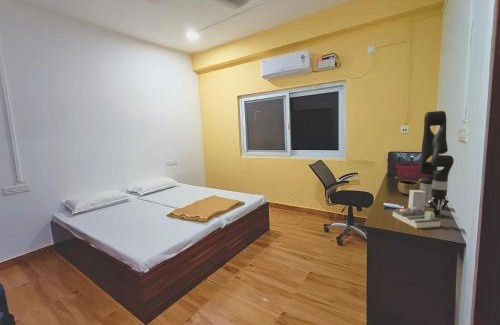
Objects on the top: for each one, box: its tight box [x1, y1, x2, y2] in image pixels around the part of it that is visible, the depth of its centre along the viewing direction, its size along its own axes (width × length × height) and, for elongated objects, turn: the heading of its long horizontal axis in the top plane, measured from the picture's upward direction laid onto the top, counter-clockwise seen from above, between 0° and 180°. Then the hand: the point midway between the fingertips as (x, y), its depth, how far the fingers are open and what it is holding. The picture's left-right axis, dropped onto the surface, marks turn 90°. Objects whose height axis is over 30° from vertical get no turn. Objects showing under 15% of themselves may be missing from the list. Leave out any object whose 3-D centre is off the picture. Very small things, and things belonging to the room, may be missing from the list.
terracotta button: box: [398, 208, 409, 212], centre depth 158 cm, size 5×5×2 cm
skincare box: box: [407, 189, 426, 211], centre depth 171 cm, size 8×6×15 cm
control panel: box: [392, 207, 442, 229], centre depth 154 cm, size 20×16×5 cm
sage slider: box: [424, 210, 436, 220], centre depth 148 cm, size 4×3×4 cm
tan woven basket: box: [394, 176, 422, 196], centre depth 213 cm, size 22×17×15 cm
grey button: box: [410, 207, 420, 212], centre depth 159 cm, size 5×5×2 cm
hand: (436, 215), depth 149 cm, fingers closed
